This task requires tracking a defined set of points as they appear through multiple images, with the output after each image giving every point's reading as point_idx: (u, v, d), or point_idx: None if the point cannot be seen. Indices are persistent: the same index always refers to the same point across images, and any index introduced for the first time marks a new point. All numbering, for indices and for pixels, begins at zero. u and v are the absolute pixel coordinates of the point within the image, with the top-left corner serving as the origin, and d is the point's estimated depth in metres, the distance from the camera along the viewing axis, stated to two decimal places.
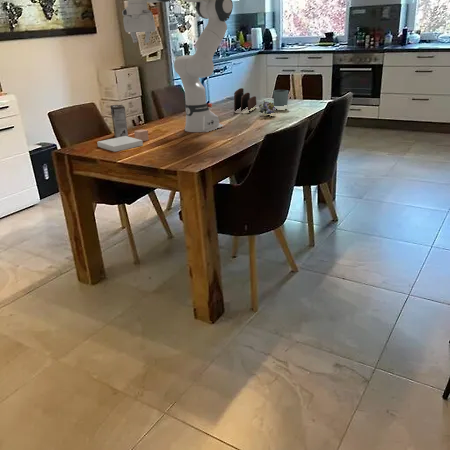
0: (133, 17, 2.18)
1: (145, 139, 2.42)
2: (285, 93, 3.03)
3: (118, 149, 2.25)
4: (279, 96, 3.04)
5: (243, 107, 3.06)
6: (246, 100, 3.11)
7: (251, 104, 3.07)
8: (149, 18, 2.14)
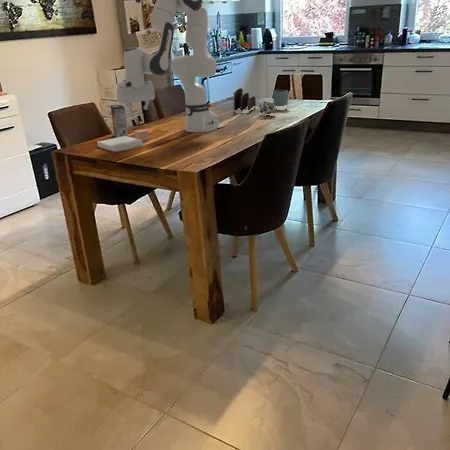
0: (139, 88, 2.31)
1: (145, 139, 2.42)
2: (285, 93, 3.03)
3: (118, 149, 2.25)
4: (279, 96, 3.04)
5: (243, 107, 3.06)
6: (245, 100, 3.11)
7: (251, 104, 3.07)
8: None
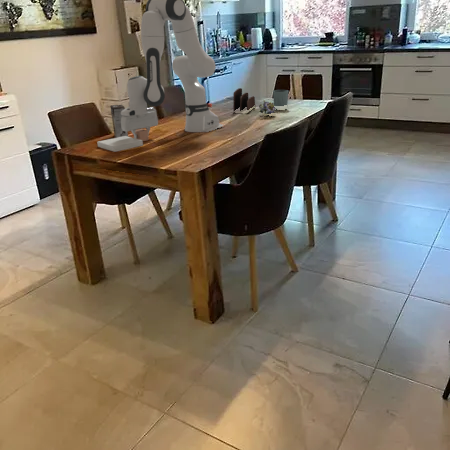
0: (143, 116, 2.37)
1: (145, 139, 2.42)
2: (285, 93, 3.03)
3: (118, 149, 2.25)
4: (279, 96, 3.04)
5: (242, 107, 3.06)
6: (245, 100, 3.11)
7: (250, 104, 3.07)
8: None
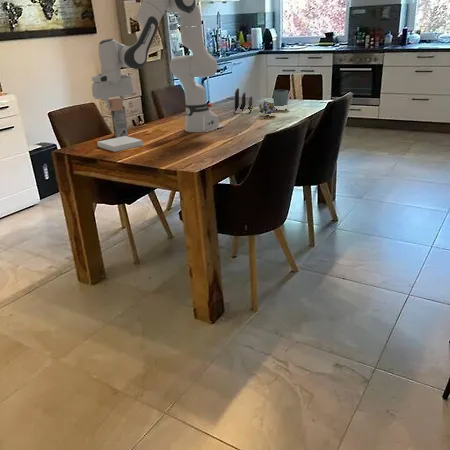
0: (116, 82, 2.20)
1: (119, 108, 2.25)
2: (285, 93, 3.03)
3: (118, 149, 2.25)
4: (279, 96, 3.04)
5: (243, 107, 3.06)
6: (244, 100, 3.11)
7: (250, 104, 3.08)
8: None
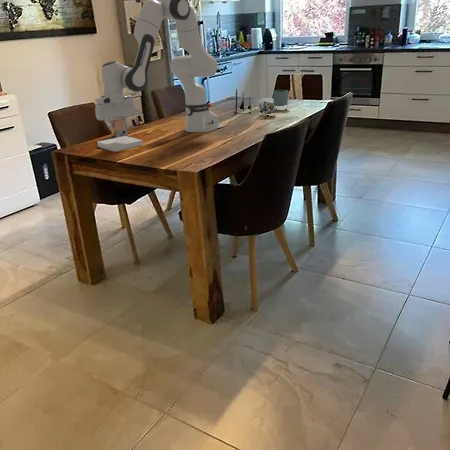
0: (118, 104, 2.24)
1: (121, 128, 2.29)
2: (285, 93, 3.03)
3: (118, 149, 2.25)
4: (279, 96, 3.04)
5: (243, 107, 3.06)
6: None
7: (250, 104, 3.08)
8: None
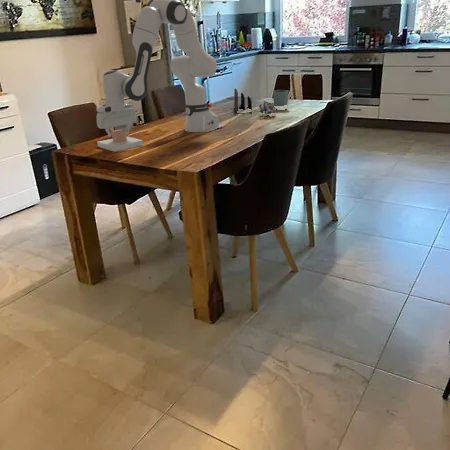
0: (119, 112, 2.25)
1: (123, 140, 2.31)
2: (285, 93, 3.03)
3: (118, 149, 2.25)
4: (279, 96, 3.04)
5: (244, 107, 3.06)
6: None
7: (250, 104, 3.09)
8: None
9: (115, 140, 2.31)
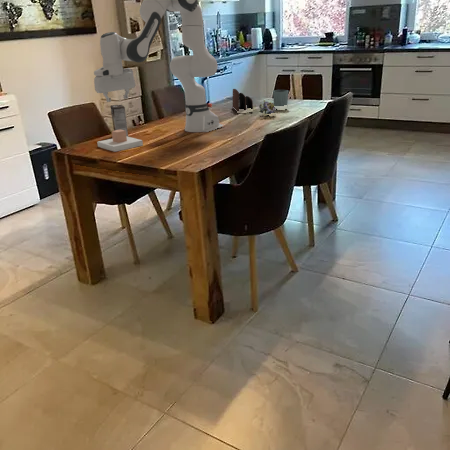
0: (118, 76, 2.20)
1: (123, 140, 2.31)
2: (285, 93, 3.03)
3: (118, 149, 2.25)
4: (279, 96, 3.04)
5: None
6: None
7: None
8: None
9: (115, 140, 2.31)
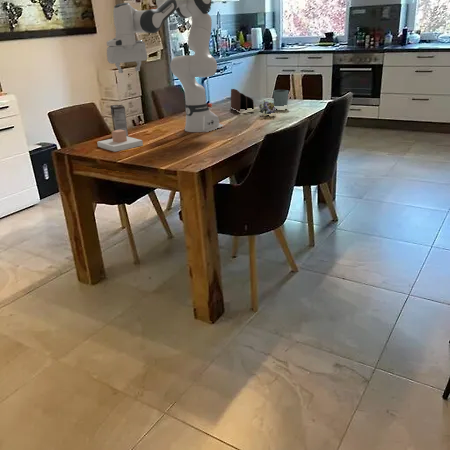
0: (130, 47, 2.20)
1: (123, 140, 2.31)
2: (285, 93, 3.03)
3: (118, 149, 2.25)
4: (279, 96, 3.04)
5: None
6: None
7: None
8: None
9: (115, 140, 2.31)
